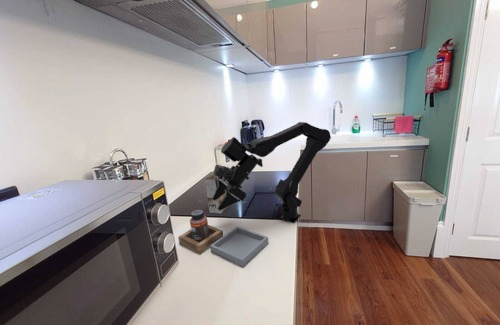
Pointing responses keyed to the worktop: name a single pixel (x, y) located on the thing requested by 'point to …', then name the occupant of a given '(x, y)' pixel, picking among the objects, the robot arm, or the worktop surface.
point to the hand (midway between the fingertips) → (216, 204)
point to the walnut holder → (203, 245)
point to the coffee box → (211, 188)
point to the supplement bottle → (199, 226)
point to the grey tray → (239, 246)
